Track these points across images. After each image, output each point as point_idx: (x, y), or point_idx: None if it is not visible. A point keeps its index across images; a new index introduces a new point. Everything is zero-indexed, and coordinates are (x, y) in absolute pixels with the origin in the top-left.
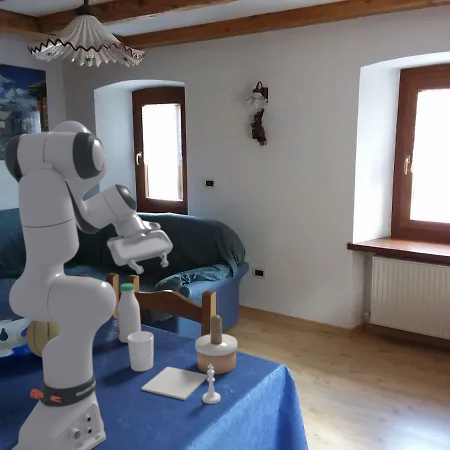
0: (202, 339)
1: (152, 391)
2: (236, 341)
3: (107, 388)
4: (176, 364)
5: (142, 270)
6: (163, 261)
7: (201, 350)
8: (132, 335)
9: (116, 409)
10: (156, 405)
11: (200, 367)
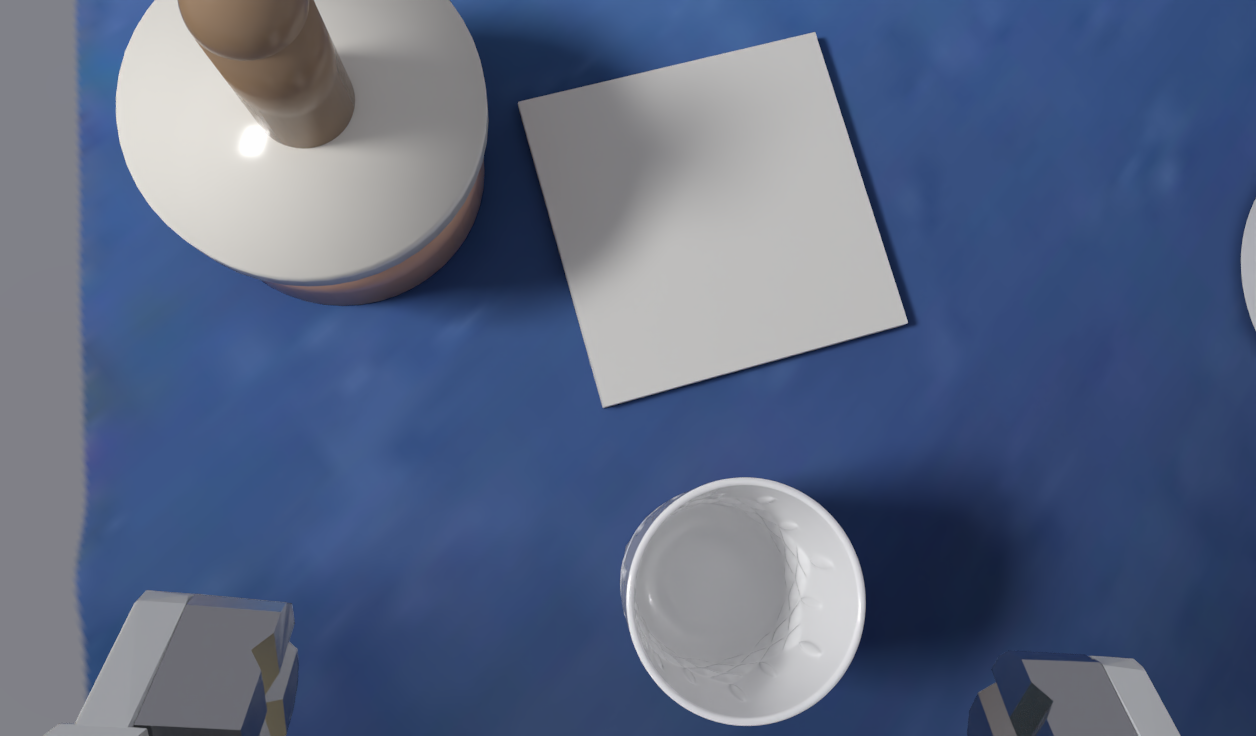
0: (331, 230)
1: (880, 246)
2: None
3: (1032, 512)
4: (519, 403)
5: (1049, 654)
6: (253, 680)
7: (485, 117)
8: (753, 712)
9: (1124, 272)
10: (951, 127)
11: (477, 200)
